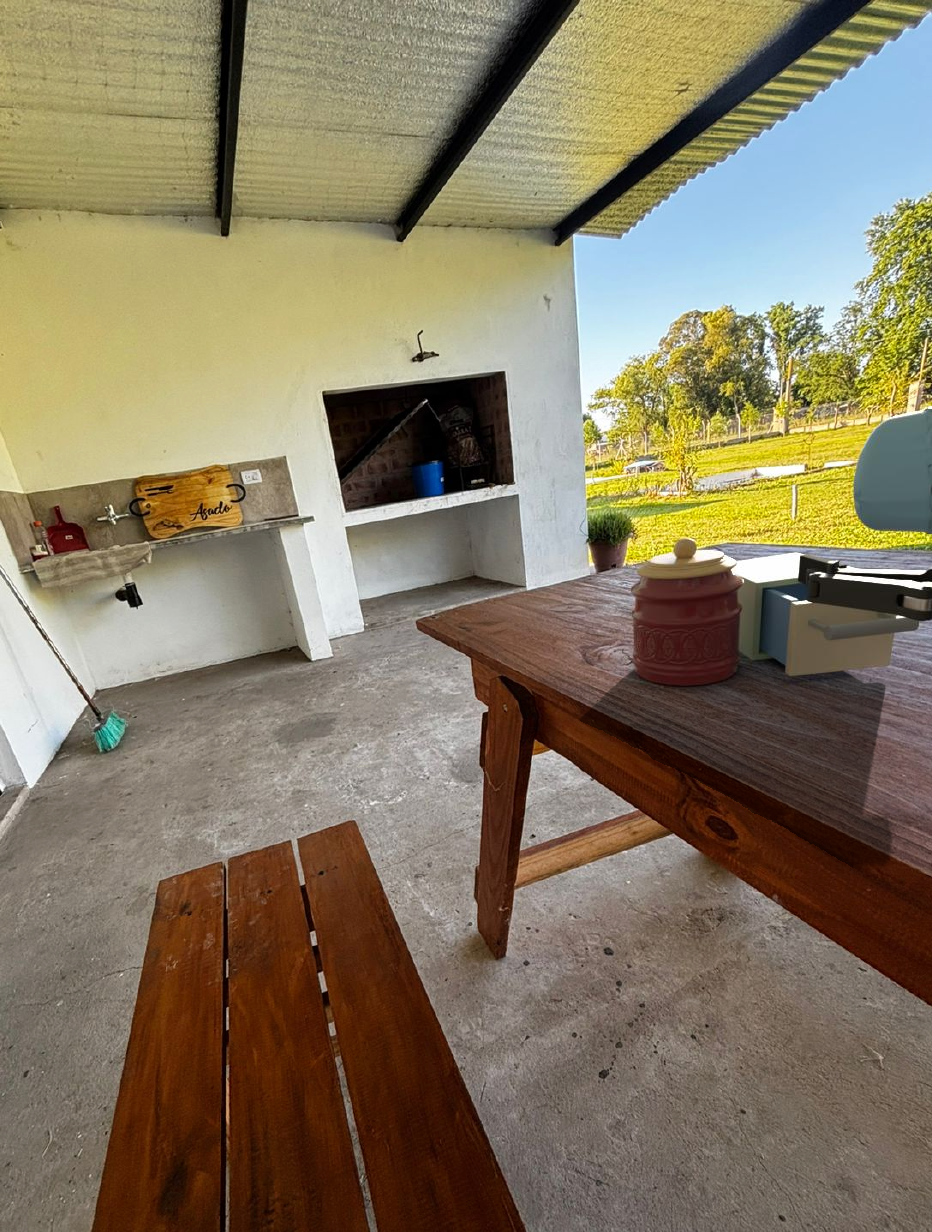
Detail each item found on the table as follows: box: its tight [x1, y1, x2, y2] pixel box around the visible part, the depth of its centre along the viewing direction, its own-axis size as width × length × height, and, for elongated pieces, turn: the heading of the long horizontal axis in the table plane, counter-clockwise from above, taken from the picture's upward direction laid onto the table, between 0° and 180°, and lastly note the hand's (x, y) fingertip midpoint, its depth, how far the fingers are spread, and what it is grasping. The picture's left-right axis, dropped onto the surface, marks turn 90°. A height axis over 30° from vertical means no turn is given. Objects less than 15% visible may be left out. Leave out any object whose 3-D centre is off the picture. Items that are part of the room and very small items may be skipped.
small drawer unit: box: [732, 552, 857, 661], centre depth 74 cm, size 15×12×11 cm
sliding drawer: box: [759, 583, 920, 677], centre depth 64 cm, size 18×10×9 cm, turn 172°
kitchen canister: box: [630, 537, 744, 687], centre depth 69 cm, size 13×13×18 cm
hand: (877, 557), depth 53 cm, fingers open, 13 cm apart
